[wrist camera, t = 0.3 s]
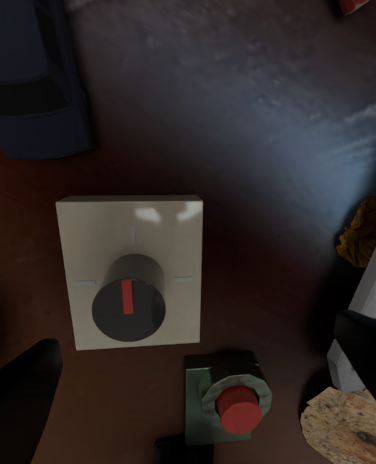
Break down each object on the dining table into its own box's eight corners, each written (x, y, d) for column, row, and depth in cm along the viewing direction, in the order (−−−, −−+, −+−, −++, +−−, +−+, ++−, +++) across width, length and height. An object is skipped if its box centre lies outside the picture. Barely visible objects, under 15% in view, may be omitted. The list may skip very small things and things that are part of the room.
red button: (253, 413, 24) (260, 432, 22) (216, 416, 24) (220, 436, 22) (256, 383, 23) (264, 400, 21) (217, 386, 23) (222, 404, 21)
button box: (252, 423, 29) (264, 458, 25) (184, 430, 28) (187, 467, 25) (260, 344, 26) (275, 372, 22) (184, 349, 25) (188, 379, 22)
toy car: (49, -106, 15) (-3, -231, 10) (103, 153, 19) (85, 152, 14) (-55, -100, 14) (-161, -226, 10) (24, 163, 19) (-22, 165, 14)
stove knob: (165, 305, 20) (166, 343, 16) (107, 308, 19) (93, 348, 15) (164, 252, 19) (165, 279, 15) (102, 254, 18) (85, 282, 14)
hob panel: (195, 320, 24) (199, 344, 21) (86, 326, 23) (75, 352, 20) (197, 194, 21) (203, 201, 18) (70, 195, 20) (53, 202, 17)
